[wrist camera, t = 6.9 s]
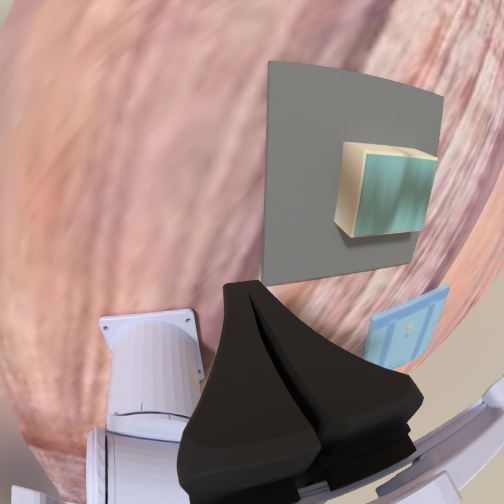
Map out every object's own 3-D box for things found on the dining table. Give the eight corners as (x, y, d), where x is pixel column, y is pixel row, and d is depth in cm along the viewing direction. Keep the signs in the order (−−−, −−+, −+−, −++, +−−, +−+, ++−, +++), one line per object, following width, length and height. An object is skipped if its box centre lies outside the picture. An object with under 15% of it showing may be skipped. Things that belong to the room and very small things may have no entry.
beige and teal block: (334, 221, 21) (403, 217, 23) (352, 238, 19) (422, 231, 20) (343, 141, 18) (416, 149, 20) (365, 150, 16) (439, 158, 17)
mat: (407, 259, 26) (410, 262, 26) (261, 282, 23) (262, 286, 23) (439, 95, 18) (443, 96, 18) (268, 61, 15) (270, 60, 14)
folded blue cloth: (421, 347, 38) (425, 353, 37) (355, 378, 37) (359, 385, 36) (444, 281, 31) (450, 286, 30) (368, 313, 30) (374, 321, 29)
